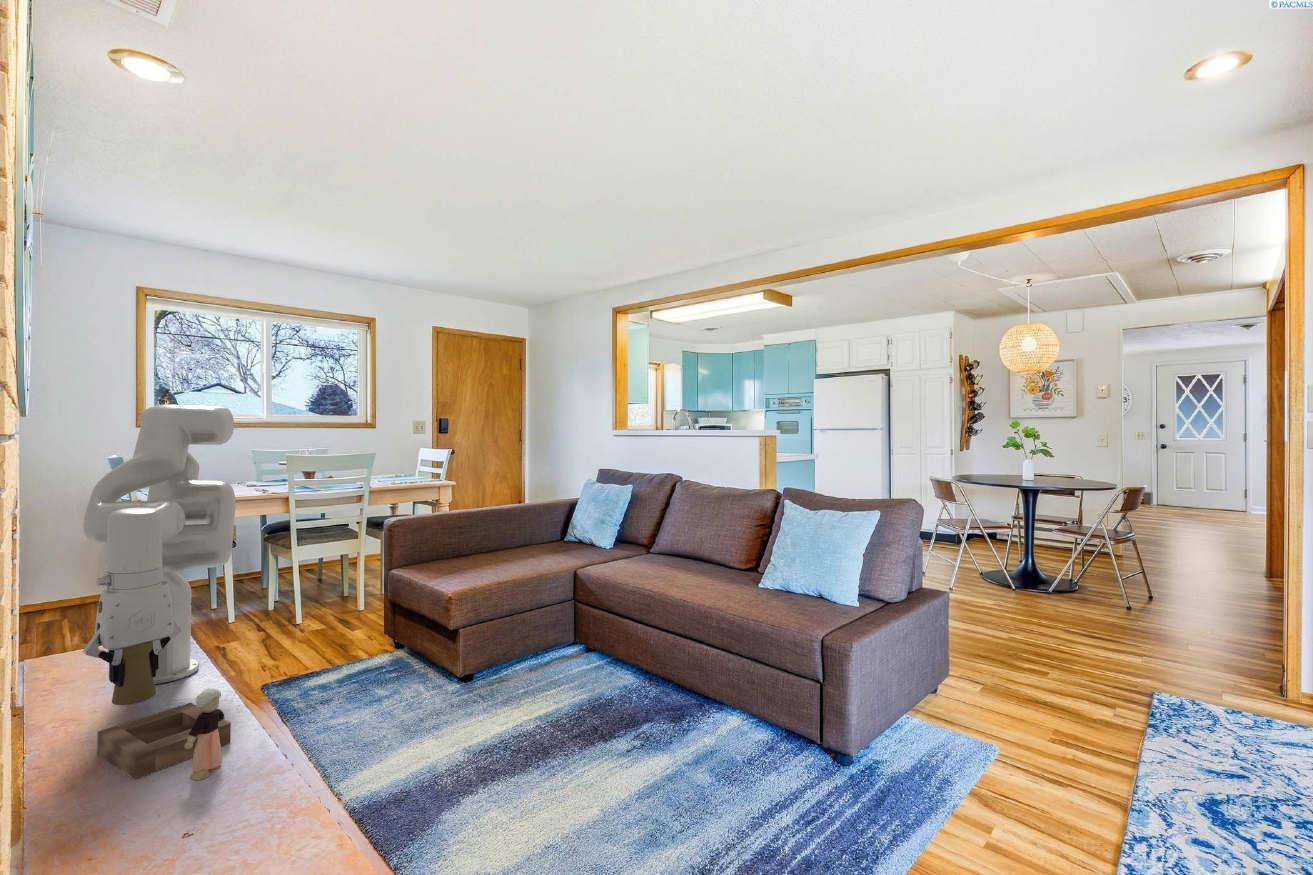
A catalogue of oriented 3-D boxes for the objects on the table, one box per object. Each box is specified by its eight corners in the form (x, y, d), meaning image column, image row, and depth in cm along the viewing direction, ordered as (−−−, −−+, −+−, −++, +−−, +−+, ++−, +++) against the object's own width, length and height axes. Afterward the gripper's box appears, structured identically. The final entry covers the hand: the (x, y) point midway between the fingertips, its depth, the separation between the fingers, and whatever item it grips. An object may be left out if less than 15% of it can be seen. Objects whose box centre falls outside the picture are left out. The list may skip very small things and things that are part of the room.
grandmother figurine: (207, 783, 93) (209, 698, 93) (179, 785, 92) (181, 699, 92) (234, 756, 100) (235, 678, 100) (207, 758, 100) (209, 679, 100)
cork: (130, 707, 107) (130, 644, 107) (102, 702, 109) (102, 640, 108) (164, 692, 113) (165, 632, 113) (137, 687, 115) (138, 628, 114)
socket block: (97, 753, 100) (97, 731, 100) (190, 721, 111) (190, 702, 111) (135, 779, 93) (135, 756, 93) (230, 743, 104) (230, 722, 104)
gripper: (81, 593, 101) (81, 703, 102) (199, 572, 115) (198, 669, 116) (64, 585, 105) (64, 691, 105) (180, 565, 119) (179, 659, 120)
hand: (134, 678), depth 111 cm, fingers closed on cork, 3 cm apart
